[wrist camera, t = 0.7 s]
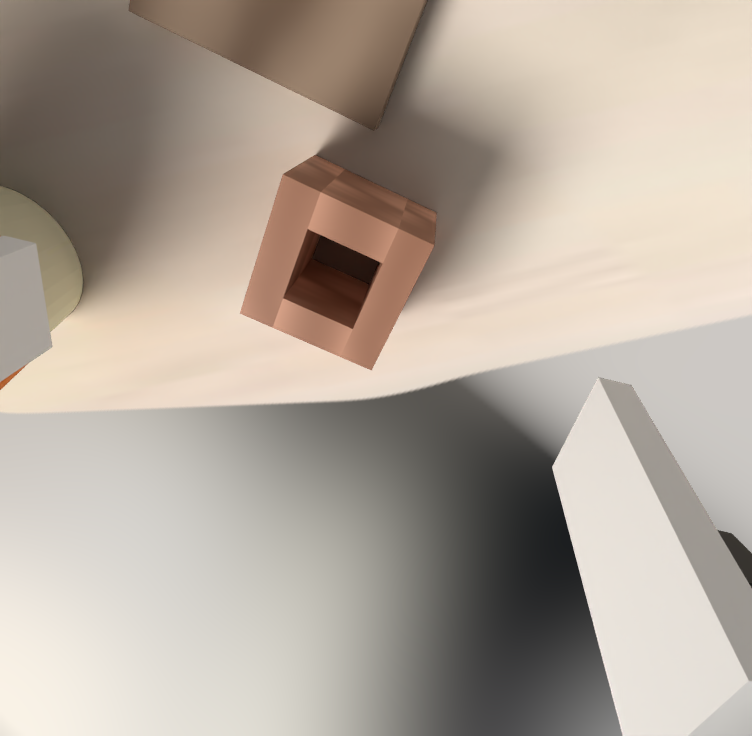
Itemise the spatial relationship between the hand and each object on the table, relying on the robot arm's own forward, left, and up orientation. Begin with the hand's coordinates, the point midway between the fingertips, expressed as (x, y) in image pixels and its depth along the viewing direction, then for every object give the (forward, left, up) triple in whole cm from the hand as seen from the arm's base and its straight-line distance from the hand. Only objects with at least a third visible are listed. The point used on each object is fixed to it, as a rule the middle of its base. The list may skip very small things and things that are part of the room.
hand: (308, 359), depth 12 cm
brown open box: (-1, -3, -17) cm, 18 cm away
